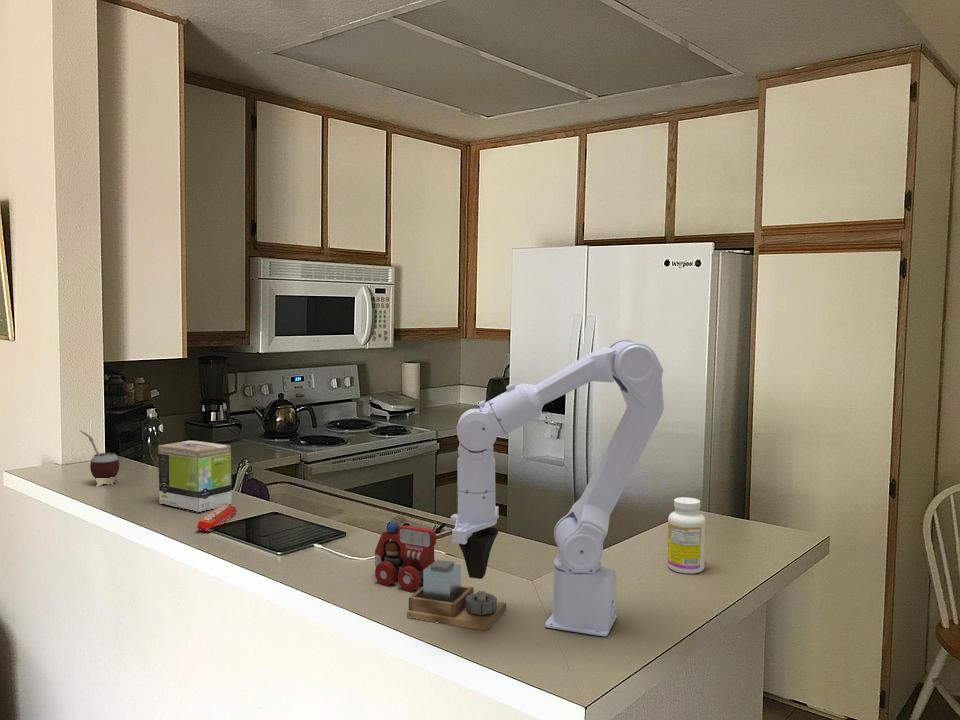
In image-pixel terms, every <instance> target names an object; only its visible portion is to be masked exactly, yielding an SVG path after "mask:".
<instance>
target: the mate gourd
mask: <svg viewBox="0 0 960 720" xmlns="http://www.w3.org/2000/svg"><path fill="white" fill-rule="evenodd" d="M79 432H80V433H82V434H83V435H84V436H86V437H87V438H88V440H89V442H90V443H91V445H92V448H93V450H94V452H95V454H94V455H93V456H92V458H91V460H90V465H89V467H90V472H91V475H92V477H93V478H94V477H95V478H110V477H115V476H116V477H117V475H118V473H119V470H120V460H119V457H118V455H117V454H116V453H115V452H114V453H113V452H102V453H101V452H100V453H99V451H98V448H97V446H96V444H95V442H94V439H93V436H91V435H90V434H88V433H86V432H84V431H83V430H79ZM116 477H115V478H116ZM95 478H94V479H95Z"/></svg>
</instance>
